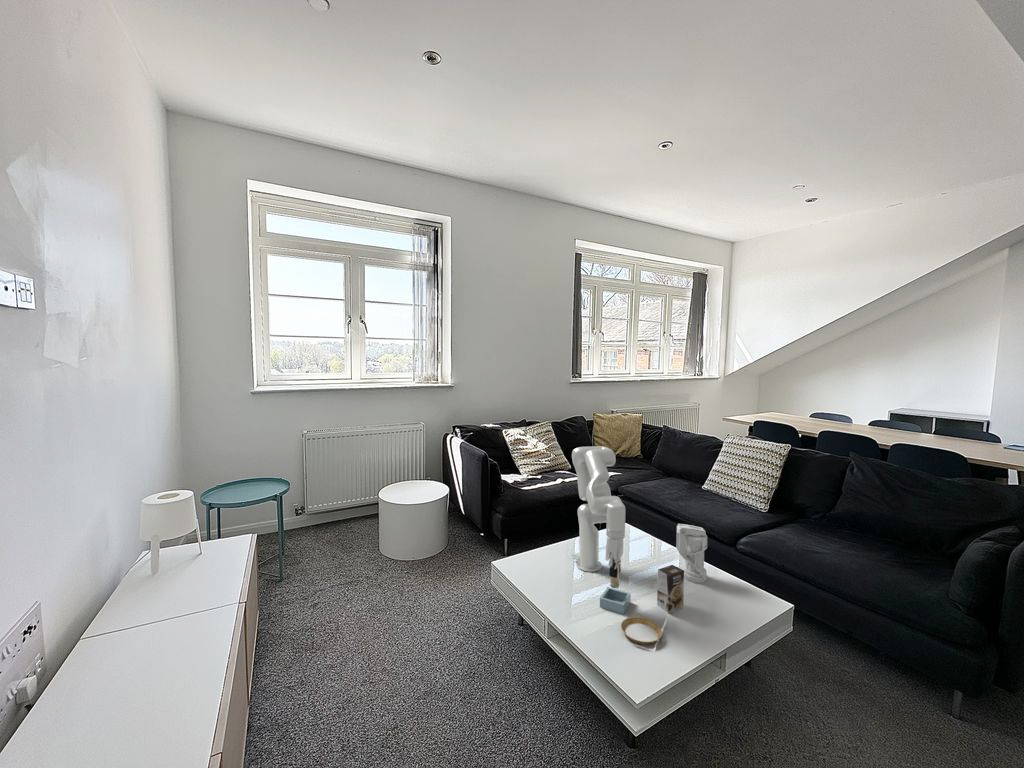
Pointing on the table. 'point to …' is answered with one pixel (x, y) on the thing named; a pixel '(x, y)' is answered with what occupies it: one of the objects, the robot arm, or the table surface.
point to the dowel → (615, 581)
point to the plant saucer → (641, 621)
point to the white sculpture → (692, 551)
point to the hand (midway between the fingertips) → (614, 574)
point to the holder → (615, 600)
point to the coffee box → (670, 588)
